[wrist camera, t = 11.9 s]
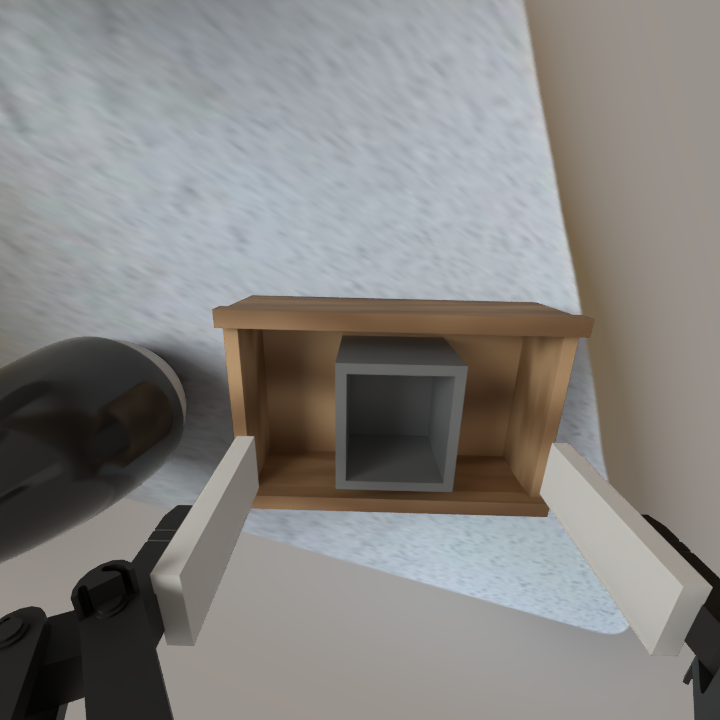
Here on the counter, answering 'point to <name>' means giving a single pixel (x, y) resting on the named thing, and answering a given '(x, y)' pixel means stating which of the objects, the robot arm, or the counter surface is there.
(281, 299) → the large crate
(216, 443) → the counter surface
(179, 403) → the pump dispenser
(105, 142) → the counter surface
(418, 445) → the box
